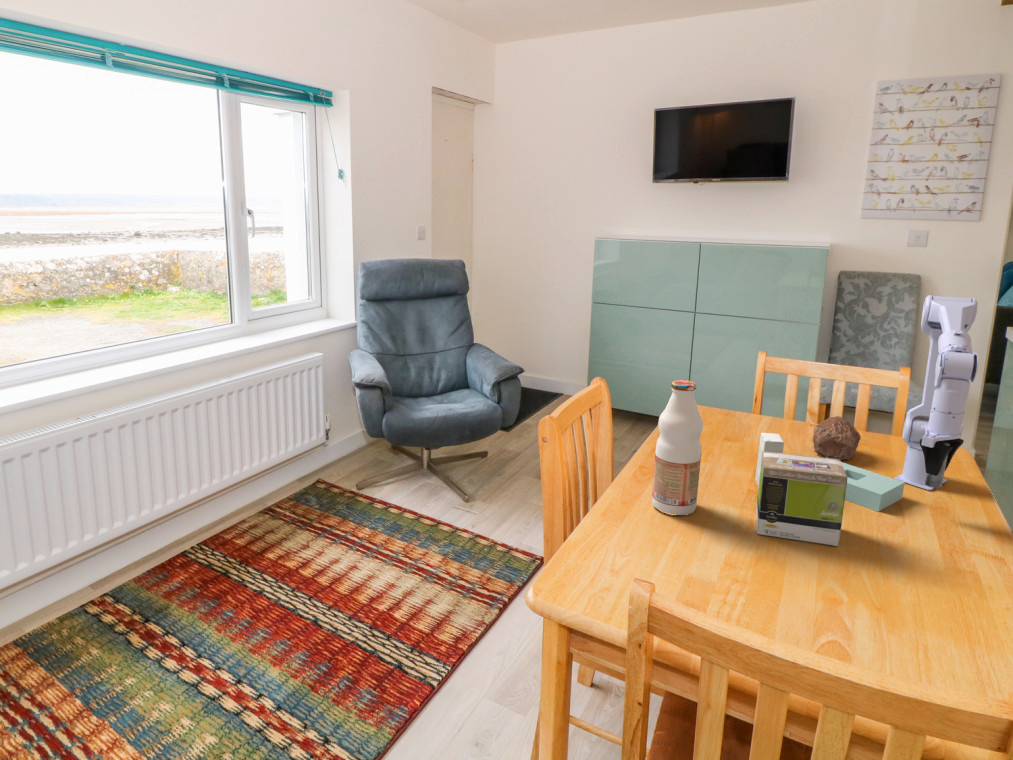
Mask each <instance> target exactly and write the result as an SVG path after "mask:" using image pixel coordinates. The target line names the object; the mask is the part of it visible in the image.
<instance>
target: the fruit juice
mask: <svg viewBox="0 0 1013 760" xmlns="http://www.w3.org/2000/svg"><path fill="white" fill-rule="evenodd" d="M696 390H697V383H696V382H694V381H691V380H687V379H677V380H673V381H672V382H671V391H672V393H671V395H670V397H669V400H668V403H667V405H666V406H665V407H664V408H665V409H663V411H662V412H661V414H660V415H659V418H658V423H657V425H658V431H659V436H658V438H657V440H656V445H655V453H654V464H653V465H654V467H653V480H652V481H653V482H652V493H651V503H653V504H652V506H653V505H654V506H655V507H656V508H657V509H659V510H662V511H663V512H667V513H670V514H676V515H685V516H688V515H687V514H689V515H691V514H693V513H694V512H695V511H696V508H697V503H698V492H699V481H700V474H701V473H700V471H701V462H702V461H701V459H702V442H701V440H700V438H701V435H702V434H703V429H704V420H703V417H702V416H701V414H700V411H699V408H698V404H697V402H696V400H697V399H696V397H695V392H696ZM690 513H691V514H690Z"/></svg>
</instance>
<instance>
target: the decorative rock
mask: <svg viewBox="0 0 1013 760" xmlns="http://www.w3.org/2000/svg"><path fill="white" fill-rule="evenodd" d="M861 439H862V437H861V434H860V432H859V431H858V430H857V429H856V427H855V426H854V425H853V424H852V423H850V421H848V420H847V419H846V418H843V417H842V416H840V415H839V416H838V415H837V416H830V417H828V418H826V419H824V420H822V421H820V423H818V424H816V425H814V426H813V436H812V443H813V450H814V453H817V454H819V455H822V457H823V458H832V459H839V460H841V461H842V460H849V459H851V458H852V457H853V456H854V454H855V453H856V451H857V449H858V448H859V443H860V441H861Z"/></svg>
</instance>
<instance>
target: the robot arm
mask: <svg viewBox="0 0 1013 760" xmlns="http://www.w3.org/2000/svg"><path fill="white" fill-rule="evenodd" d="M978 305H979V304H978V300H977V299H976V298H975V297H956V296H941V295H932V294H928V295H926V297H925V299H924V302H923V307H922V313H921V320H920V321H921V323H920V327H921V329H920V330H921V332H922V333H925V334H926V335H928V341H929V350H928V358H927V363H926V370H925V379H924V384H923V392H922V398H921V399H922V400H921V404H919V405H916V406H915V407H914V406H913V408H909V410H907V412H906V415H905V419H904V424H903V428H902V429H903V430H902V441H904V443H907V446H906V453H905V458H904V463H903V464H904V465H903V468H902V469H903V470H902V473H901V474H899V475H897V476H895V477H894V479H896V480H899V481H902V482H905V484H907V485H911V486H914V487H918V488H920V489H924V490H927V491H932V490H934V489H935V488H933V487H929V486H927V485H925V479H926V474H927V473H928V474H931V475H935V476H937V475H938V474H939V473H940V470H941V468H942V465H943V462H944V460H945V458H946V456H947V454H948V457H947V462H946V467H945V472H946V471H947V469H948V467H949V465H950V463H951V461H952V459H953V457H954V455H955V453H956V452H957V450H958V449H960V447H961V446H962V445H963V444H964V443H965V442H964V441H965V440H964V439H962V438H961V437H962V434H963V429H964V423H963V421H964V417H965V413H966V408H967V404H968V397H969V393H970V389H971V383H974V382H975V379H976V377H977V373H978V371H979V370H978V369H979V355H978V353H977V352H976V351H973V348H972V347H973V346H972V338H971V335H970V334H969V333H968V332H969V331H970V330H971V328H972V325H973V324H974V322H975V320H976V317H977V313H978ZM921 417H922V418H921ZM928 418H929V419H928ZM943 441H946V442H949V443H950V446H947V445H944V443H943ZM947 481H948V479H947V478H944V477H943V482H942V485H943V484H944V483H946V482H947Z"/></svg>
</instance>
